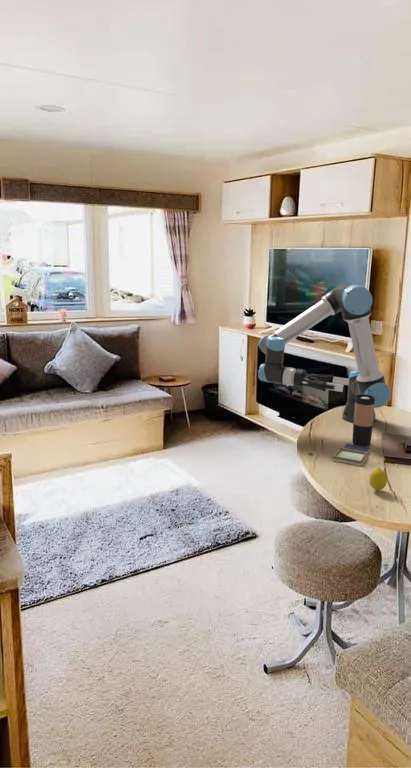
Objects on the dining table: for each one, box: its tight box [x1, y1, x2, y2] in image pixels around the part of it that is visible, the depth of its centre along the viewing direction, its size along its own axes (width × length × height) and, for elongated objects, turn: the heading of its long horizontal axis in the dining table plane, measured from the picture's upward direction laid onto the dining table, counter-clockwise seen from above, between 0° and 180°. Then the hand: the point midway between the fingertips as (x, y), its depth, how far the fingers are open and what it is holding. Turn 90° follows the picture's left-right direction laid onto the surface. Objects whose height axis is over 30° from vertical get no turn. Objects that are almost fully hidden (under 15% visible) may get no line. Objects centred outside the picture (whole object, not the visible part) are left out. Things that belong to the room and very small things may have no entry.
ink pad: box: [342, 443, 372, 456], centre depth 220 cm, size 8×10×1 cm
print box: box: [332, 446, 369, 467], centre depth 212 cm, size 11×11×2 cm
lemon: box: [368, 467, 388, 492], centre depth 183 cm, size 6×6×8 cm
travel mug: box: [351, 394, 375, 447], centre depth 226 cm, size 8×8×20 cm
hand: (346, 385), depth 226 cm, fingers open, 13 cm apart
